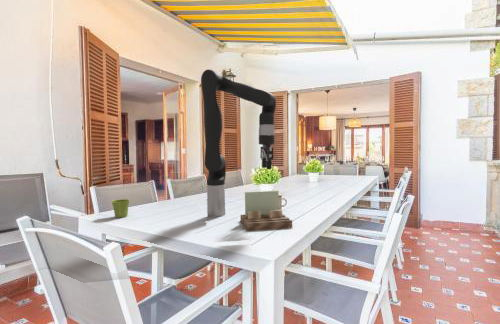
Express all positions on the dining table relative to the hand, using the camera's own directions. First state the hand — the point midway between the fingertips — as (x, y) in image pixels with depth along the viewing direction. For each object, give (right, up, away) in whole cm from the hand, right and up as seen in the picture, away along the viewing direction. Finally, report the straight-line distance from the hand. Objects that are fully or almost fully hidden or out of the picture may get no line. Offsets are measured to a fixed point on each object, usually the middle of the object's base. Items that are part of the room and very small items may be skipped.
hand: (266, 168), depth 144 cm
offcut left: (-6, -25, -9) cm, 27 cm away
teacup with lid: (+7, -25, +27) cm, 38 cm away
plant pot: (-78, -27, +18) cm, 84 cm away
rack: (-1, -27, -8) cm, 28 cm away
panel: (-2, -25, -2) cm, 25 cm away
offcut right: (+4, -25, -7) cm, 26 cm away
